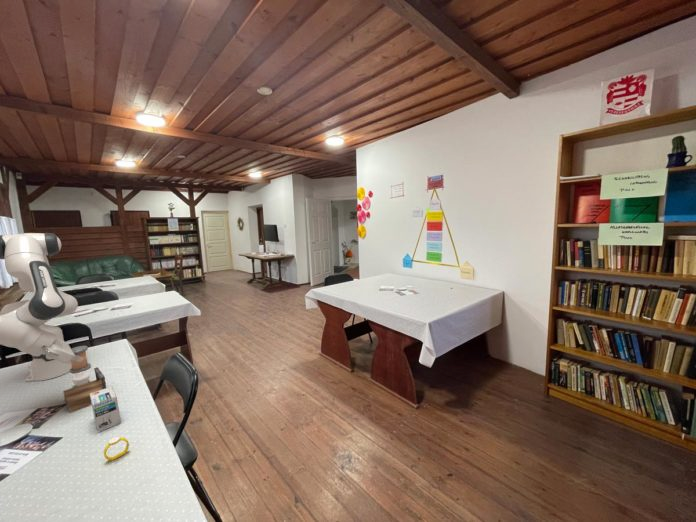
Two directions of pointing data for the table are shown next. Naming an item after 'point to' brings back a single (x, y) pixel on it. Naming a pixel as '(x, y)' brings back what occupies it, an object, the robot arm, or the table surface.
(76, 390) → the shelf stand
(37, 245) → the robot arm
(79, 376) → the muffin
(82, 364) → the cord spool
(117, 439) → the watch
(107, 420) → the light bulb box
